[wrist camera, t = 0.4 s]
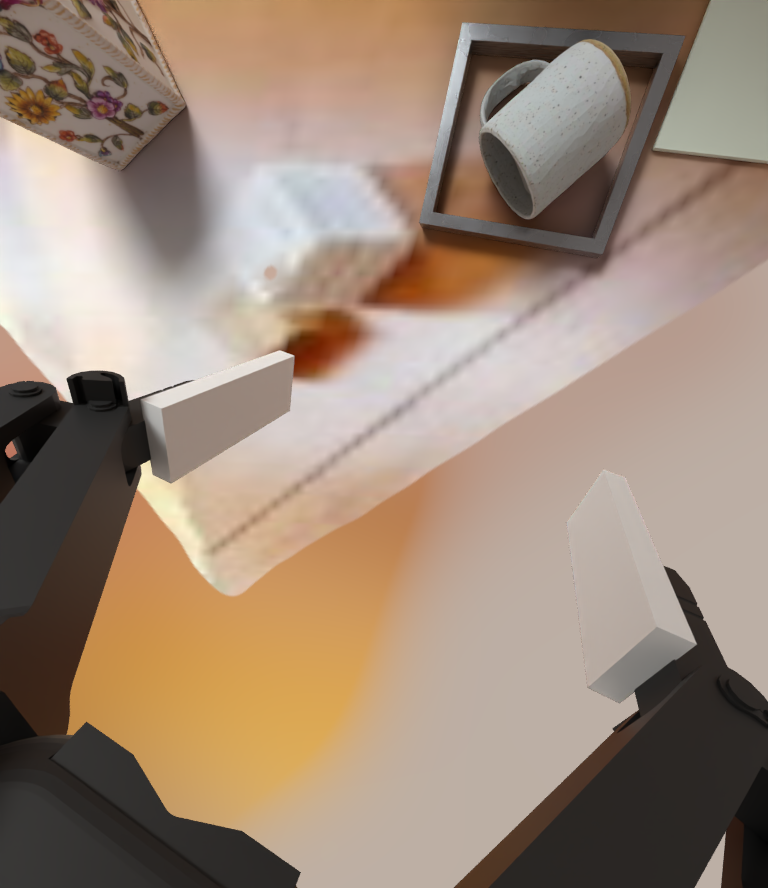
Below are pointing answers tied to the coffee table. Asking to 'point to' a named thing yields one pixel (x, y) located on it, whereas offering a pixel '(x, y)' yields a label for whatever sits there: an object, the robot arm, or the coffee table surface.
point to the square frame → (549, 46)
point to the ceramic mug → (553, 123)
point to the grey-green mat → (723, 87)
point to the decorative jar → (85, 76)
